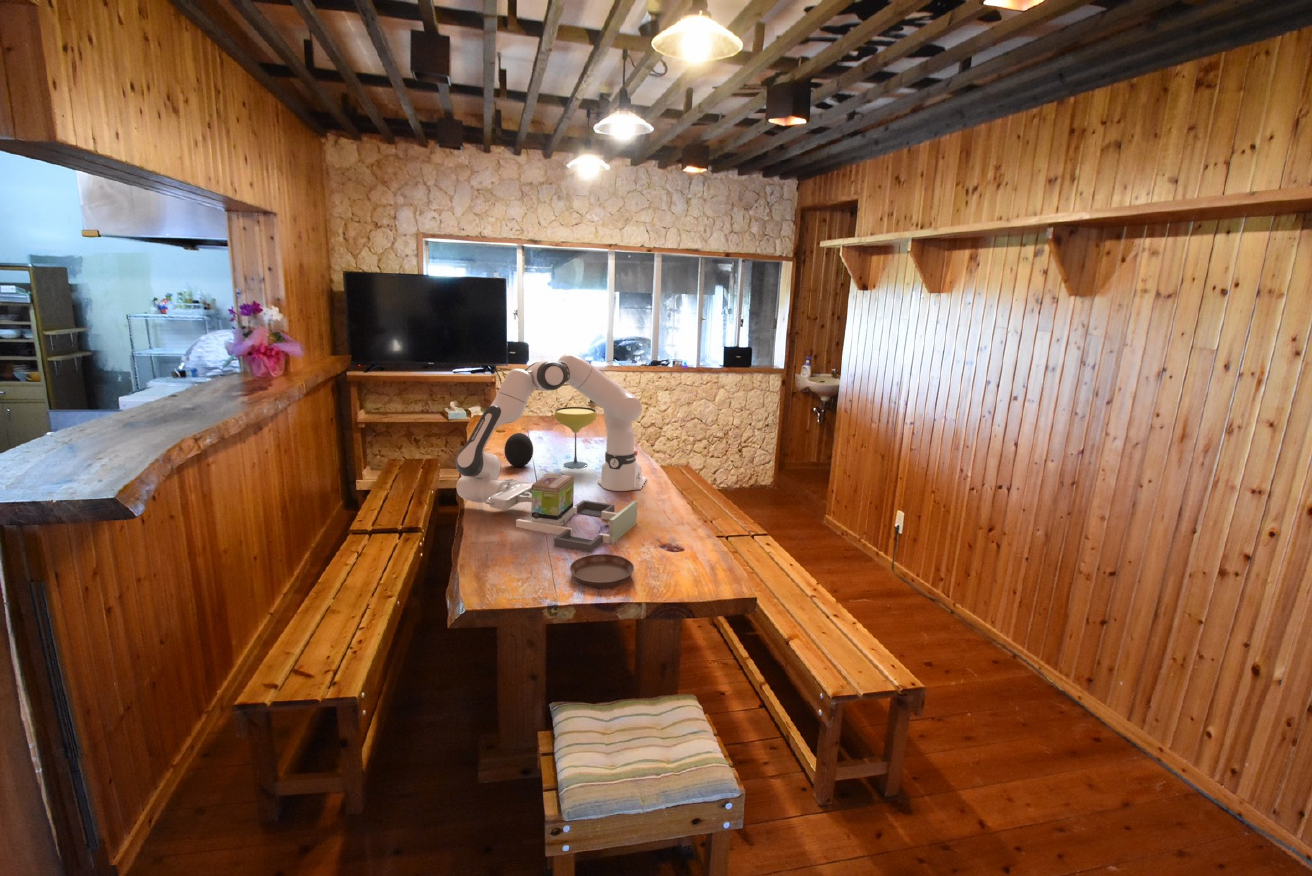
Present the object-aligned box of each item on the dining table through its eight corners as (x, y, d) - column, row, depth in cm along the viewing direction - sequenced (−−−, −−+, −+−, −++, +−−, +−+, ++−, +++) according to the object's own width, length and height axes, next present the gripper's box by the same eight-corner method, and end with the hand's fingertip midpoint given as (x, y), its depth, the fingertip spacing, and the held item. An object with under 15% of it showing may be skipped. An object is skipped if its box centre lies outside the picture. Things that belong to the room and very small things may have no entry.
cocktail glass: (602, 463, 290) (603, 409, 284) (582, 473, 274) (582, 416, 268) (569, 458, 297) (569, 405, 291) (547, 467, 281) (546, 411, 275)
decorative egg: (499, 468, 276) (498, 434, 273) (513, 461, 288) (513, 429, 284) (525, 471, 273) (524, 437, 269) (538, 464, 284) (538, 431, 281)
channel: (547, 508, 229) (546, 487, 227) (636, 523, 217) (637, 500, 216) (516, 527, 210) (515, 504, 208) (612, 544, 199) (613, 520, 197)
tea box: (559, 530, 209) (559, 487, 205) (530, 527, 210) (529, 484, 207) (574, 515, 223) (574, 474, 220) (547, 512, 225) (546, 472, 221)
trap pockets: (583, 506, 232) (583, 500, 231) (635, 514, 225) (635, 508, 225) (531, 541, 198) (531, 534, 198) (590, 552, 192) (590, 544, 191)
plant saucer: (609, 597, 165) (609, 587, 164) (556, 580, 174) (556, 569, 173) (645, 573, 180) (646, 563, 179) (595, 558, 188) (595, 549, 188)
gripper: (481, 493, 212) (517, 498, 207) (514, 477, 231) (548, 481, 226) (481, 511, 213) (517, 517, 209) (515, 493, 232) (548, 498, 228)
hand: (533, 498), depth 218 cm, fingers closed
